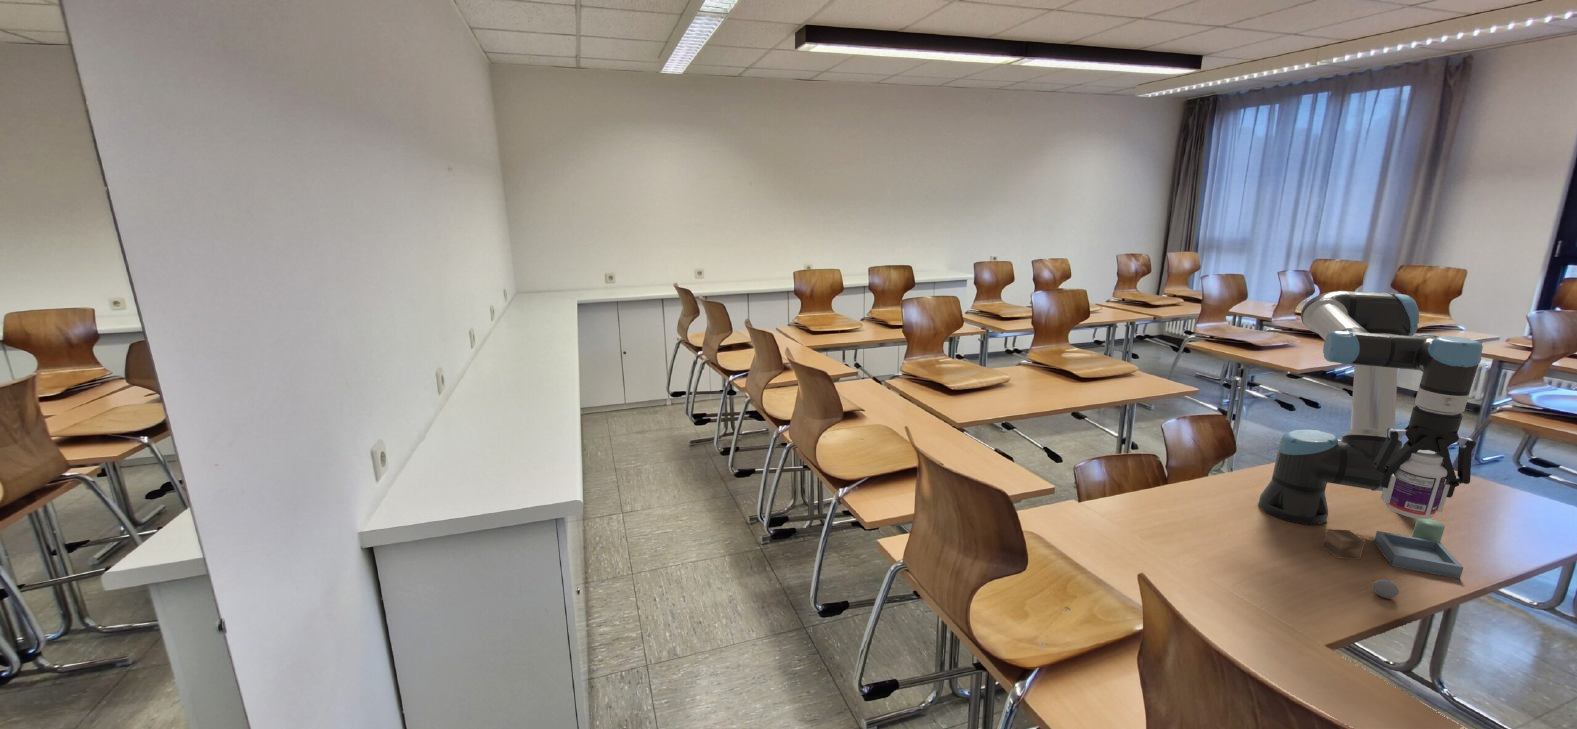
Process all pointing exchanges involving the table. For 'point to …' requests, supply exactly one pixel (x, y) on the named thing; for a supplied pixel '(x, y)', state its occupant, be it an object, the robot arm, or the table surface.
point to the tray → (1418, 554)
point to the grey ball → (1386, 588)
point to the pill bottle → (1418, 485)
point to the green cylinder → (1428, 529)
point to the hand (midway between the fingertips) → (1410, 504)
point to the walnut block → (1343, 544)
